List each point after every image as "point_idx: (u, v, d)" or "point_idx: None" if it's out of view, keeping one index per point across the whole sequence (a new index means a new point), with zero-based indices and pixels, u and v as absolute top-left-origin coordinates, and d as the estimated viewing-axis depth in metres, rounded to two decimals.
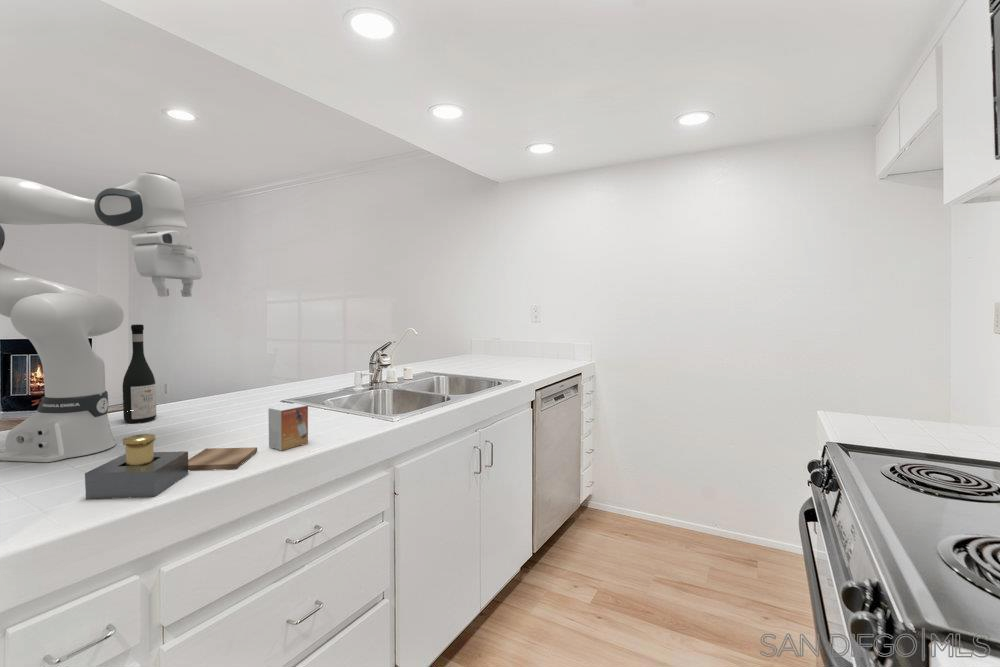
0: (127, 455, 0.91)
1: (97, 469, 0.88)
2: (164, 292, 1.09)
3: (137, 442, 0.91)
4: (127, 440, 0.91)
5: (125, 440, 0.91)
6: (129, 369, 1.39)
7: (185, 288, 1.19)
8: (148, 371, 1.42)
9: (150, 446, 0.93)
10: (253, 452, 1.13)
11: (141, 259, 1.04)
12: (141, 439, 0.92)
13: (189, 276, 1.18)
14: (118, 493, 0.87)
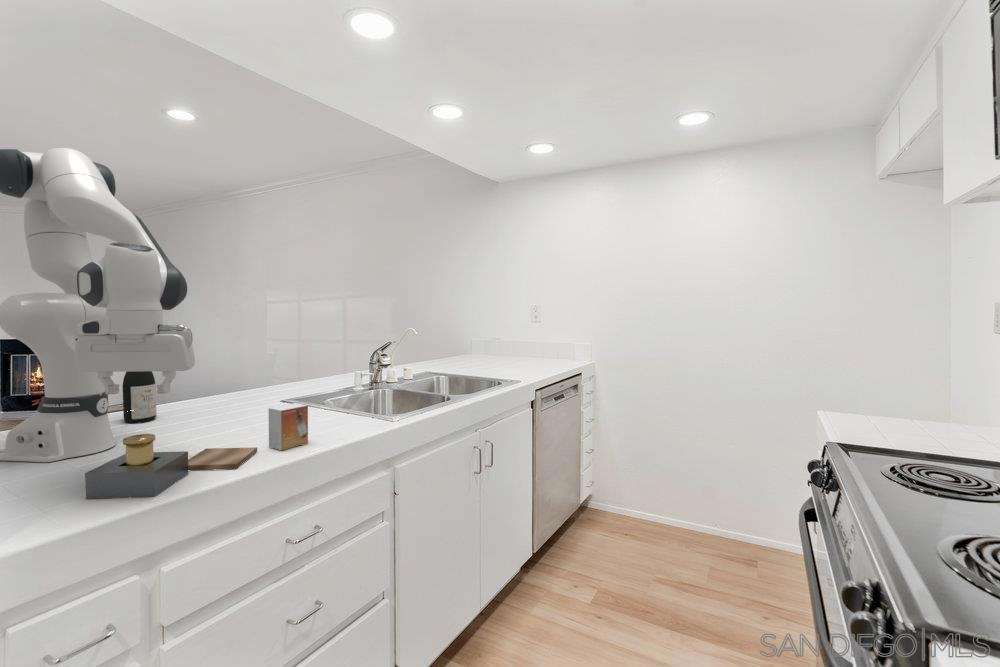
0: (127, 455, 0.91)
1: (97, 469, 0.88)
2: None
3: (137, 442, 0.91)
4: (127, 440, 0.91)
5: (125, 440, 0.91)
6: None
7: None
8: (148, 371, 1.42)
9: (150, 446, 0.93)
10: (253, 452, 1.13)
11: None
12: (141, 439, 0.92)
13: (152, 369, 0.91)
14: (118, 493, 0.87)
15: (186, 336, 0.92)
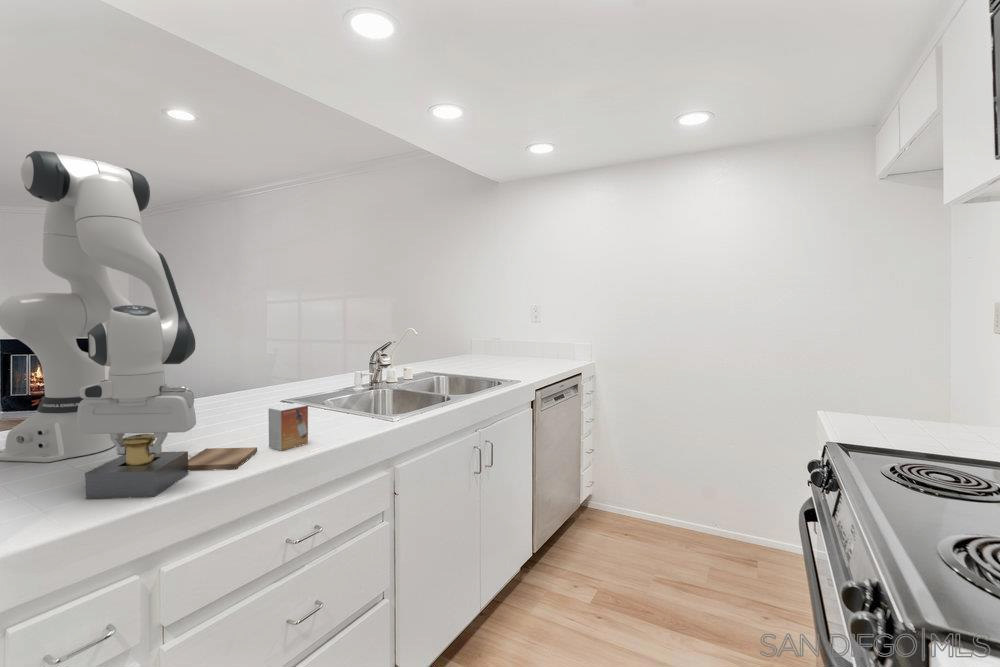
0: (127, 455, 0.91)
1: (97, 469, 0.88)
2: None
3: (137, 442, 0.91)
4: (127, 440, 0.91)
5: (125, 440, 0.91)
6: None
7: None
8: None
9: None
10: (253, 452, 1.13)
11: None
12: (141, 439, 0.92)
13: (154, 431, 0.91)
14: (118, 493, 0.87)
15: (188, 397, 0.93)
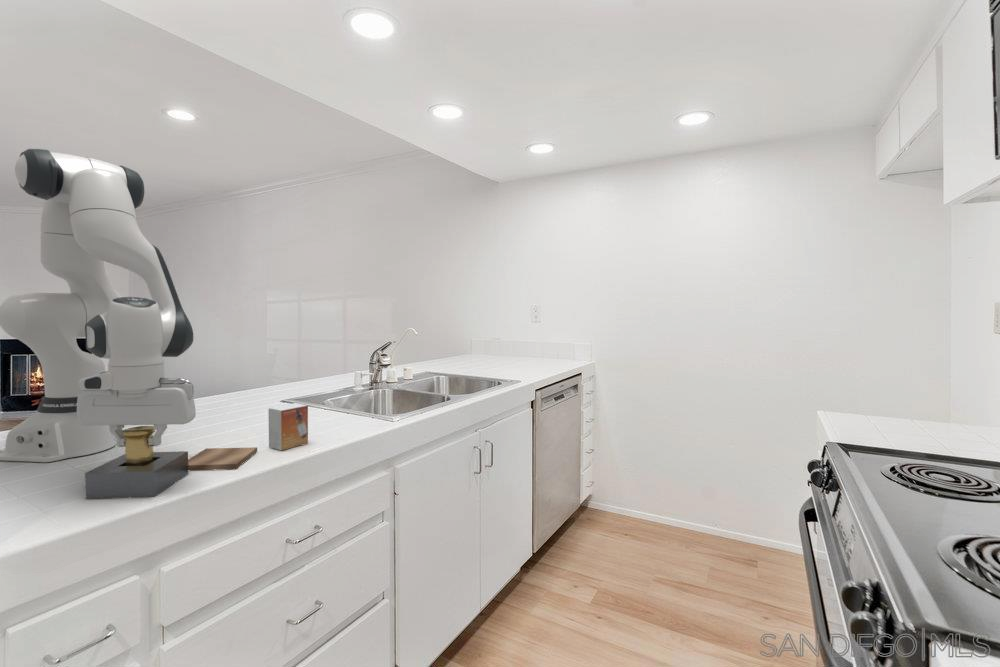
0: (127, 447, 0.91)
1: (97, 469, 0.88)
2: None
3: (137, 434, 0.91)
4: (127, 432, 0.91)
5: (125, 432, 0.91)
6: None
7: None
8: None
9: None
10: (253, 452, 1.13)
11: None
12: (141, 431, 0.91)
13: (154, 423, 0.91)
14: (118, 493, 0.87)
15: (187, 389, 0.93)
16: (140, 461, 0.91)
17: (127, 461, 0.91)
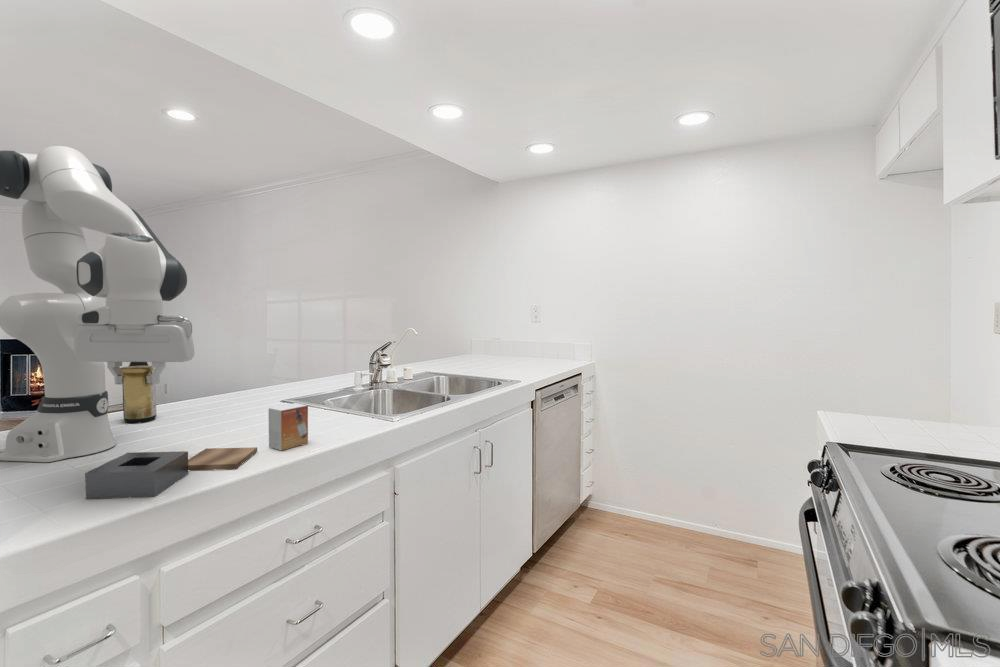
0: (124, 384, 0.90)
1: (97, 469, 0.88)
2: None
3: (135, 370, 0.90)
4: (124, 368, 0.90)
5: (122, 368, 0.90)
6: None
7: None
8: None
9: None
10: (253, 452, 1.13)
11: None
12: (139, 368, 0.91)
13: (152, 360, 0.91)
14: (118, 493, 0.87)
15: (186, 327, 0.92)
16: (138, 398, 0.91)
17: (125, 398, 0.90)
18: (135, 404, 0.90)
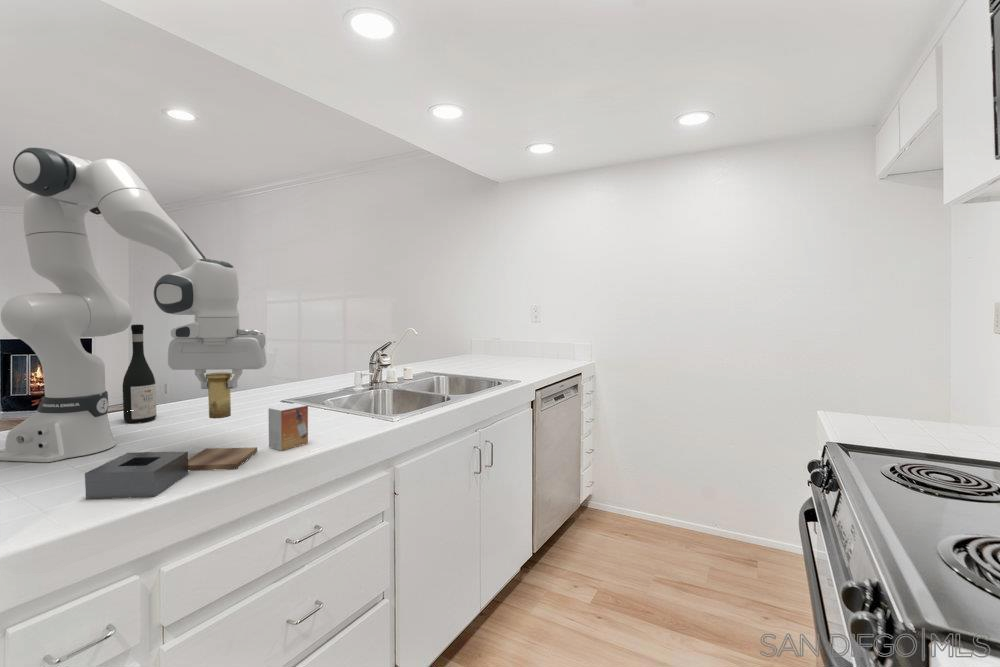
0: (210, 388, 1.05)
1: (97, 469, 0.88)
2: None
3: (219, 376, 1.05)
4: (210, 375, 1.05)
5: (208, 375, 1.05)
6: (129, 369, 1.39)
7: None
8: (148, 371, 1.42)
9: None
10: (253, 452, 1.13)
11: None
12: (221, 374, 1.06)
13: (233, 367, 1.06)
14: (118, 493, 0.87)
15: (260, 339, 1.07)
16: (221, 401, 1.06)
17: (210, 401, 1.05)
18: (218, 406, 1.06)
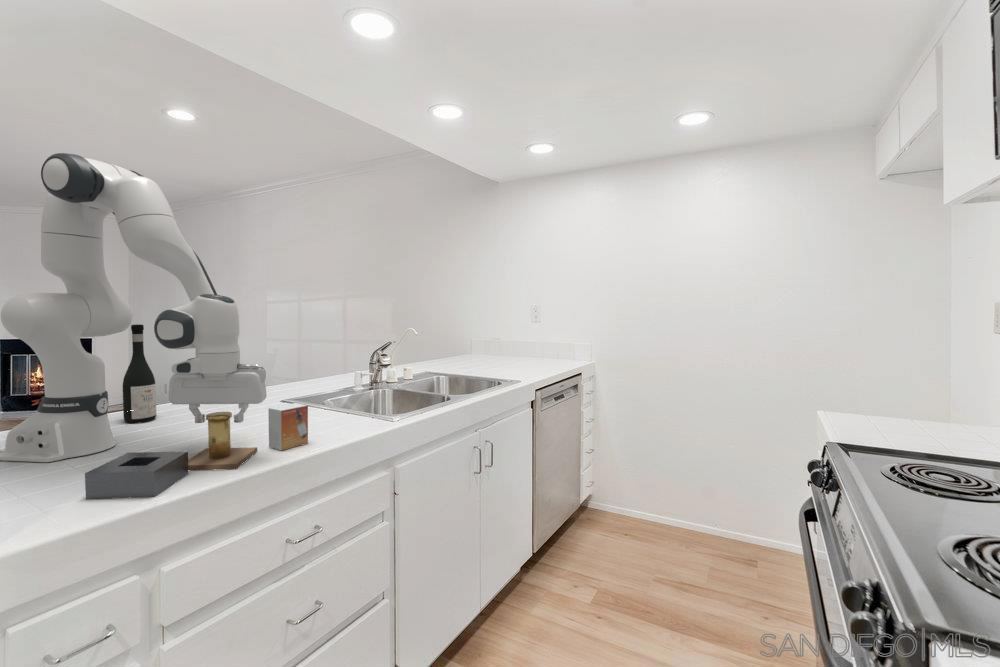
0: (210, 429, 1.06)
1: (97, 469, 0.88)
2: None
3: (219, 418, 1.06)
4: (210, 416, 1.06)
5: (208, 416, 1.06)
6: (129, 369, 1.39)
7: None
8: (149, 371, 1.42)
9: (228, 422, 1.08)
10: (253, 452, 1.13)
11: None
12: (221, 415, 1.06)
13: (233, 402, 1.06)
14: (118, 493, 0.87)
15: (261, 374, 1.08)
16: (221, 441, 1.06)
17: (210, 441, 1.06)
18: (218, 446, 1.06)
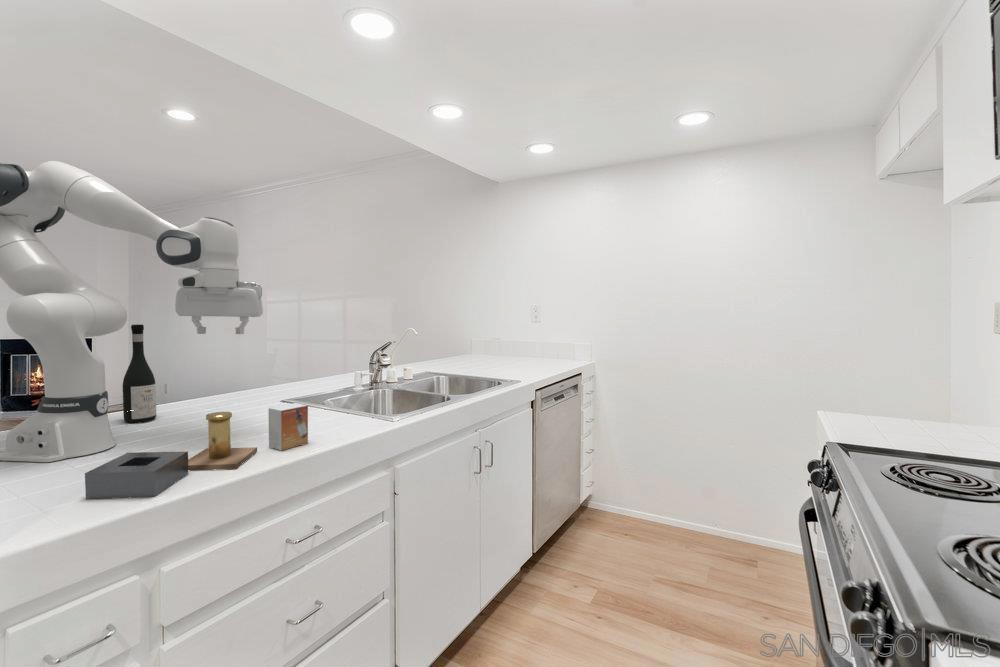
0: (210, 429, 1.06)
1: (97, 469, 0.88)
2: None
3: (219, 418, 1.06)
4: (210, 416, 1.06)
5: (208, 416, 1.06)
6: (129, 369, 1.39)
7: None
8: (149, 371, 1.42)
9: (228, 422, 1.08)
10: (253, 452, 1.13)
11: None
12: (221, 415, 1.06)
13: (233, 315, 1.19)
14: (118, 493, 0.87)
15: (257, 290, 1.21)
16: (221, 441, 1.06)
17: (210, 441, 1.06)
18: (218, 446, 1.06)
